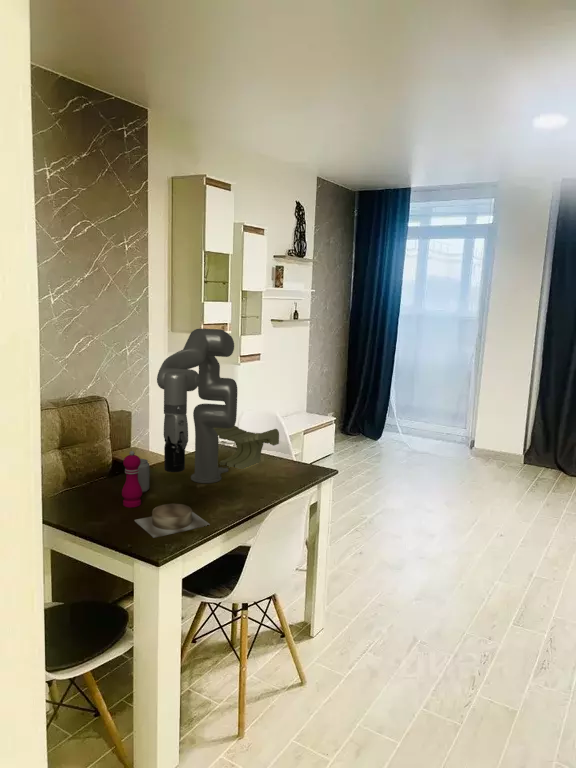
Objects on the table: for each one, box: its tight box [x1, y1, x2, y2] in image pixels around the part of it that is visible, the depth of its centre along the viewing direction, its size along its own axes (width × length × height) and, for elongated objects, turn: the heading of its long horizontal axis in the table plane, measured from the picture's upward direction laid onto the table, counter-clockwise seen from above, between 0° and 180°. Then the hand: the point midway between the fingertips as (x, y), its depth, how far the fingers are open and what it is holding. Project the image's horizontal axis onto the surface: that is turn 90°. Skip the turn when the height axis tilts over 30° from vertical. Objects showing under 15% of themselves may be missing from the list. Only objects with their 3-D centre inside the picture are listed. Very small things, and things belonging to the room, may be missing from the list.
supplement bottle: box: [163, 436, 186, 473], centre depth 202 cm, size 7×7×12 cm
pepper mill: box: [121, 450, 143, 508], centre depth 215 cm, size 7×7×20 cm
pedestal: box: [134, 503, 211, 539], centre depth 201 cm, size 20×16×5 cm
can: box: [138, 458, 150, 494], centre depth 231 cm, size 8×8×12 cm
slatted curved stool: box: [214, 425, 280, 470], centre depth 271 cm, size 30×16×18 cm, turn 57°
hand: (174, 460), depth 202 cm, fingers closed on supplement bottle, 6 cm apart
